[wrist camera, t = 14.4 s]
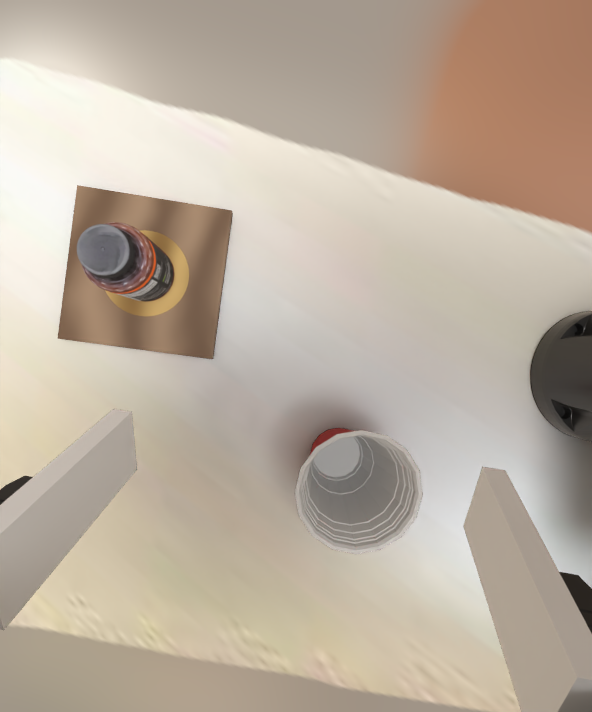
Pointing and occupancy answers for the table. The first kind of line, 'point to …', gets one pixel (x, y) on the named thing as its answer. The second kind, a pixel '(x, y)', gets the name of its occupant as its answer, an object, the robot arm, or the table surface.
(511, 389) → the table surface
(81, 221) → the walnut board
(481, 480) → the robot arm
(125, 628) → the table surface
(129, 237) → the supplement bottle
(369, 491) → the plastic cup
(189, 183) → the table surface
